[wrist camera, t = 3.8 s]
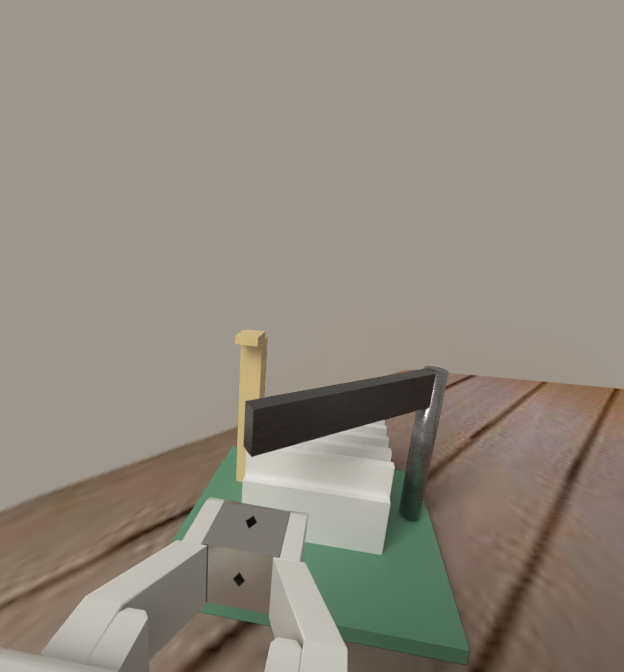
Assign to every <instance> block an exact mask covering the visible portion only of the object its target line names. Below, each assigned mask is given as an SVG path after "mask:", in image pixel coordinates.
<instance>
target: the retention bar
mask: <svg viewBox="0 0 624 672" xmlns="http://www.w3.org/2000/svg"><path fill="white" fill-rule="evenodd" d="M447 377H448V371H447V370H445V369H442V368H439V367H433V366H426V367H424V369H421V370H416V371H410V372H404V373H399V374H393V375H388V376H382V377H377V378H371V379H365V380H360V381H355V382H349V383H343V384H337V385H332V386H326V387H321V388H315V389H310V390H305V391H298V392H293V393H288V394H282V395H276V396H271V397H266V398H259V399H254V400H248V401H245V420H244V444H243V447H244V448H245V449H246V451H247V452H248V453H249V455H250V456H251V457H253V456H257V455H261V454H264V453H268V452H271V451H275V450H278V449H282V448H285V447H289V446H293V445H296V444H300V443H303V442H307V441H310V440H314V439H317V438H321V437H325V436H328V435H332V434H335V433H339V432H342V431H346V430H350V429H353V428H357V427H360V426H364V425H367V424H371V423H374V422H378V421H382V420H385V419H389V418H392V417H396V416H399V415H403V414H407V413H410V412H414V411H416V415H415V420H414V426H413V432H412V437H411V443H410V449H409V454H408V460H407V465H406V471H405V477H404V482H403V488H402V494H401V499H400V505H399V513H400V515H401V516H402V517H403V518H405V519H407V520H410V521H417V520H418V519H419V518H420V515H421V510H422V505H423V500H424V494H425V489H426V484H427V479H428V474H429V469H430V464H431V459H432V454H433V449H434V444H435V438H436V433H437V428H438V423H439V418H440V413H441V408H442V403H443V398H444V393H445V388H446V382H447Z"/></svg>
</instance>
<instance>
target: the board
mask: <svg viewBox="0 0 624 672" xmlns="http://www.w3.org/2000/svg"><path fill="white" fill-rule="evenodd" d="M235 341H236V342H235V344H239V345H241V359H240V386H239V387H240V388H239V414H238V415H239V416H238V441H237V446H232V448H231V450H230V451H229V453H228V454H227V456H226V457H225V459H224V461H223V462H222V464H221V465H220V467H219V468H218V470H217V472H216V473H215V475H214V476H213V478H212V479H211V481H210V483H209V484H208V486H207V487H206V489H205V490H204V492H203V494H202V495H201V497H200V498H199V500H198V502H197V503H196V505H195V506H194V508H193V509H192V511H191V513H190V514H189V516H188V517H187V519H186V520H185V522H184V524H183V525H182V527H181V528H180V530H179V531H178V533H177V535H176V536H175V538H174V539H173V541H172V542H171V543H173V542H175V541H176V540H179V541H182V540H183V538H184V537H185V535H186V533H187V532H188V530H189V528H190V527H191V525H192V523H193V522H194V520H195V518H196V517H197V515H198V513H199V512H200V510H201V508H202V507H203V505H204V503H205V502H206V500H207V499H209V498H210V497H213V498H218V499H223V500H230V501H235V502H241V503H246V504H251V505H256V506H263V507H269V508H276V509H282V510H289V511H298V512H305V513H308V524H307V533H306V542H305V551H304V560H303V562H304V563H306V564H307V566H308V569H309V571H310V573H311V575H312V577H313V579H314V581H315V583H316V585H317V587H318V589H319V591H320V593H321V596H322V598H323V600H324V602H325V604H326V606H327V608H328V610H329V612H330V614H331V616H332V618H333V620H334V623H335V625H336V627H337V629H338V631H339V633H340V635H341V637H342V639H343V641H348V642H353V643H358V644H363V645H369V646H374V647H379V648H384V649H389V650H394V651H399V652H404V653H409V654H414V655H419V656H424V657H429V658H434V659H439V660H444V661H449V662H454V663H460V664H465V665H466V663H467V659H468V655H469V651H470V650H469V647H468V644H467V640H466V637H465V634H464V630H463V627H462V624H461V620H460V617H459V614H458V610H457V607H456V604H455V600H454V597H453V594H452V590H451V587H450V584H449V580H448V577H447V573H446V570H445V567H444V563H443V560H442V557H441V553H440V550H439V547H438V543H437V540H436V537H435V533H434V530H433V527H432V523H431V520H430V517H429V513H428V510H427V507H426V503H425V500H423V505H422V510H421V515H420V518H419V519H418V520H417V521H410V520H407V519H405V518H403V517H402V516H401V515H400V513H399V505H400V499H401V494H402V488H403V482H404V477H405V471H401V470H394V469H395V467H394V462H390V461H391V455H392V452H391V448H388V445H389V437H388V436H386V432H387V427H386V426H384V423H385V420H382V421H378V422H374V423H371V424H367V425H364V426H360V427H357V428H353V429H350V430H346V431H342V432H339V433H335V434H332V435H328V436H325V437H321V438H317V439H314V440H310V441H307V442H303V443H300V444H296V445H293V446H289V447H285V448H282V449H278V450H275V451H271V452H268V453H264V454H261V455H257V456H253V457H251V456H250V455H249V453H248V452H247V451H246V449H245V448H244V447H243V444H244V420H245V401H248V400H254V399H259V398H264V391H265V373H266V355H267V337H265V331H257V330H247V329H244V330H243V331H242V332H240V333H238V334H237V335H236V340H235ZM199 612H202V613H207V614H212V615H217V616H222V617H227V618H232V619H237V620H242V621H247V622H252V623H257V624H262V625H267V626H271V623H270V619H269V615H268V614H264V613H260V612H255V611H251V610H246V609H242V608H238V607H231V606H225V605H219V604H212V603H206V605H205V606H204V607H203V608H202V609H201V610H200V611H199Z"/></svg>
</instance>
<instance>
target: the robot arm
mask: <svg viewBox="0 0 624 672" xmlns="http://www.w3.org/2000/svg"><path fill="white" fill-rule="evenodd" d="M307 524H308V513H305V512H298V511H289V510H282V509H276V508H269V507H263V506H256V505H251V504H246V503H241V502H235V501H230V500H223V499H218V498H213V497H210V498H209V499H207V500H206V502H205V503H204V505H203V507H202V508H201V510H200V512H199V513H198V515H197V517H196V518H195V520H194V522H193V523H192V525H191V527H190V528H189V530H188V532H187V533H186V535H185V537H184V538H183V540H182V541H179V540H176V541H175V542H173V543H171V544H170V545H168V546H166V547H165V548H163V549H162V550H160V551H158V552H157V553H155V554H153V555H152V556H150V557H149V558H147V559H145V560H144V561H142V562H140V563H139V564H137V565H136V566H134V567H132V568H131V569H129V570H127V571H126V572H124V573H123V574H121V575H119V576H118V577H116V578H114V579H113V580H111V581H110V582H108V583H106V584H105V585H103V586H101V587H100V588H98V589H97V590H95V591H93V592H92V593H90V594H88V595H87V596H85V597H84V599H83V600H82V601H81V602H80V604H79V605H78V606H77V607H76V609H75V610H74V611H73V613H72V614H71V615H70V616H69V618H68V619H67V620H66V621H65V623H64V624H63V625H62V626H61V628H60V629H59V630H58V632H57V633H56V634H55V635H54V637H53V638H52V639H51V640H50V642H49V643H48V644H47V645H46V647H45V648H44V649H43V651H42V652H41V653H40V654H39V655H38V654H34V653H29V652H24V651H20V650H15V649H11V648H6V647H1V646H0V672H150V671H149V660H150V659H151V658H152V657H153V656H154V655H155V654H156V653H157V652H159V651H160V650H161V649H162V648H163V647H164V646H165V645H166V644H167V643H168V642H169V641H170V640H171V639H172V638H173V637H174V636H175V635H176V634H177V633H178V632H179V631H180V630H181V629H182V628H183V627H184V626H185V625H186V624H187V623H188V622H189V621H190V620H191V619H192V618H193V617H194V616H195V615H196V614H197V613H198V612H199V611H200V610H201V609H202V608H203V607H204V606H205V605H206V603H212V604H219V605H225V606H231V607H238V608H242V609H246V610H251V611H255V612H260V613H264V614H268V615H269V619H270V623H271V627H272V631H273V635H274V639H275V640H273V641H272V642H271V644H270V649H269V653H268V658H267V662H266V667H265V671H264V672H347V648H346V645H345V643H344V641H343V639H342V637H341V635H340V633H339V631H338V629H337V627H336V625H335V623H334V620H333V618H332V616H331V614H330V612H329V610H328V608H327V606H326V604H325V602H324V600H323V598H322V596H321V593H320V591H319V589H318V587H317V585H316V583H315V581H314V579H313V577H312V575H311V573H310V571H309V569H308V566H307V564H306V563H304V562H303V560H304V551H305V542H306V533H307Z"/></svg>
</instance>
